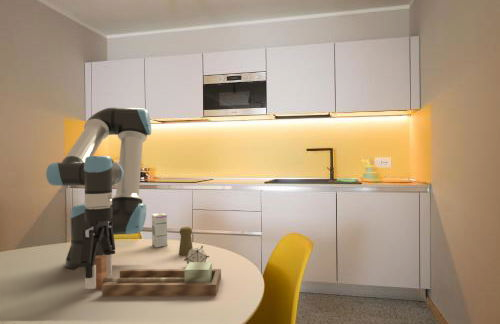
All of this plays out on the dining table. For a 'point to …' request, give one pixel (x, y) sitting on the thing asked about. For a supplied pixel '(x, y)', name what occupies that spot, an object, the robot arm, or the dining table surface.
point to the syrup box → (159, 229)
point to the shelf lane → (160, 284)
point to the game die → (196, 255)
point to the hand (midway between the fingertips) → (99, 281)
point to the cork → (185, 240)
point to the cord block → (193, 274)
